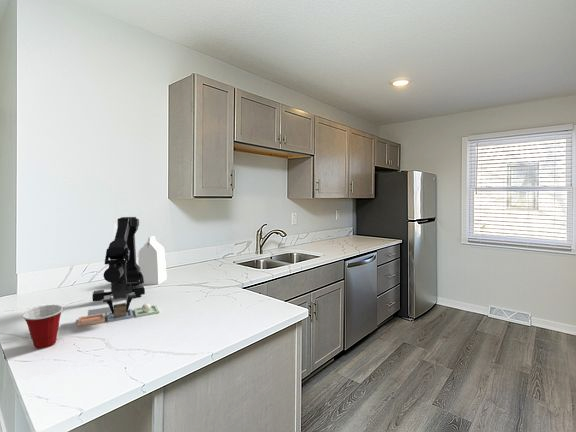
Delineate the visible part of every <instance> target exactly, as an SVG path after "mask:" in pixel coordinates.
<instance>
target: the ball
mask: <svg viewBox="0 0 576 432" xmlns="http://www.w3.org/2000/svg"><path fill="white" fill-rule="evenodd" d="M151 306H152V305H151V304H150V303H144V304H143V305H142V306H141V307H142V310H143V311H144V312H148V311H149V310H150V309H151Z"/></svg>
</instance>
